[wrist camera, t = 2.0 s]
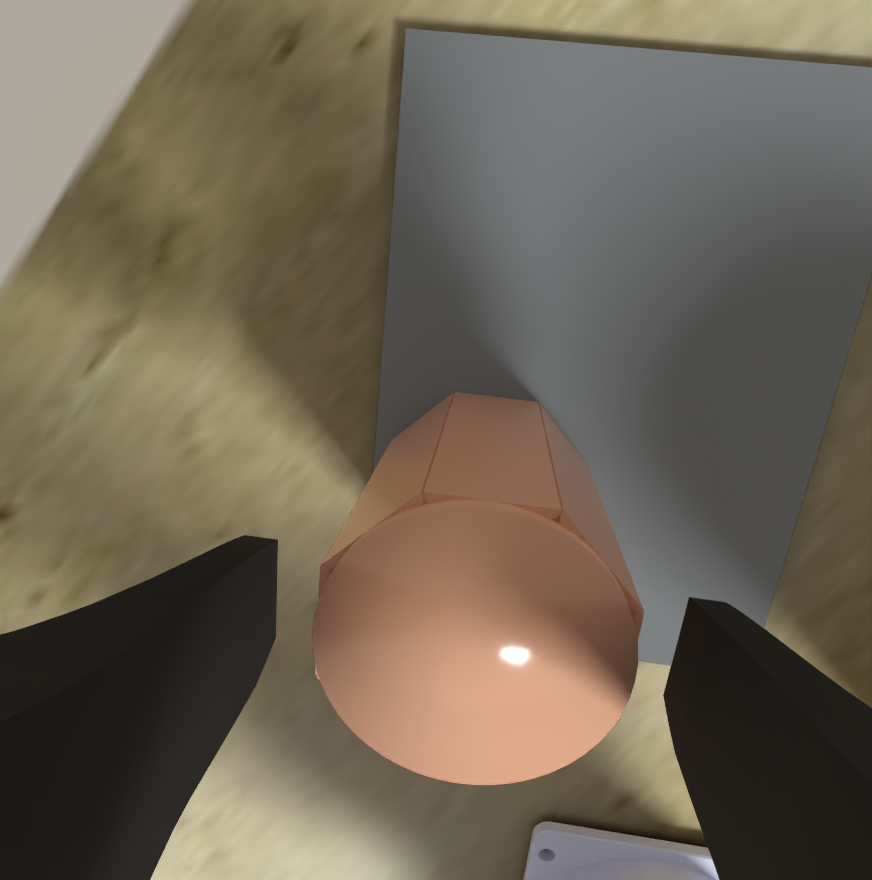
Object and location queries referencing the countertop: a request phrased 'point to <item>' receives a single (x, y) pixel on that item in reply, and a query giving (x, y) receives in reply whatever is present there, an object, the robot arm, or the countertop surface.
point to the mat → (637, 281)
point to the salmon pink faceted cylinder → (478, 600)
